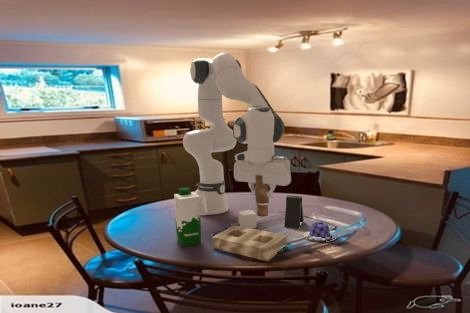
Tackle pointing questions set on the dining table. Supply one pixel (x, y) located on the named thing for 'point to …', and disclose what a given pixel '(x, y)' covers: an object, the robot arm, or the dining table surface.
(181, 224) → the milk carton
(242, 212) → the white cube
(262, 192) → the walnut peg
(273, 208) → the dining table surface
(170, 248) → the dining table surface
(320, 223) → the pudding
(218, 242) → the oak board
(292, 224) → the black a-frame sign
